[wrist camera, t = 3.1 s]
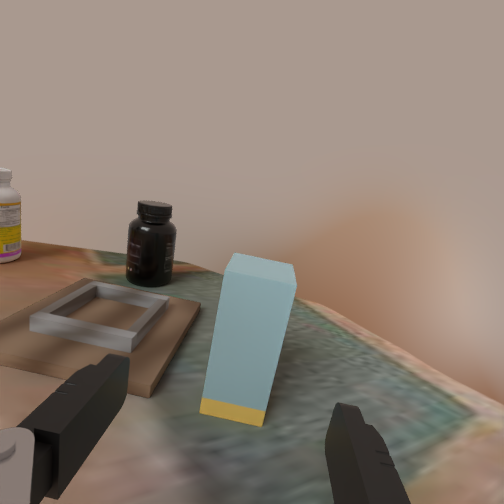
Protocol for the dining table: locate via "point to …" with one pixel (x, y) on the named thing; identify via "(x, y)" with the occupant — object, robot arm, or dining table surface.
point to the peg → (247, 338)
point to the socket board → (98, 332)
